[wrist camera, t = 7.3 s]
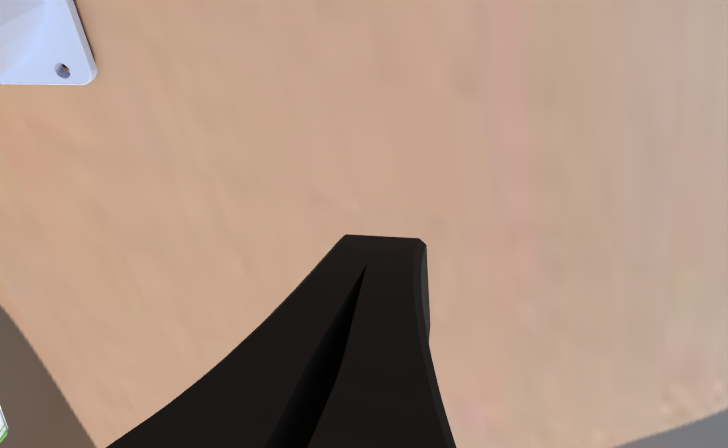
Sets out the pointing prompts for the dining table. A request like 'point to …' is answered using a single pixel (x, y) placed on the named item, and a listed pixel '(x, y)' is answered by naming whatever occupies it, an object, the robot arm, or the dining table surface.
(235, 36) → the dining table surface
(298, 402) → the robot arm
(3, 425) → the syrup box
